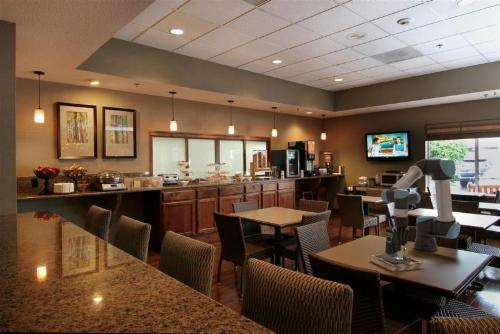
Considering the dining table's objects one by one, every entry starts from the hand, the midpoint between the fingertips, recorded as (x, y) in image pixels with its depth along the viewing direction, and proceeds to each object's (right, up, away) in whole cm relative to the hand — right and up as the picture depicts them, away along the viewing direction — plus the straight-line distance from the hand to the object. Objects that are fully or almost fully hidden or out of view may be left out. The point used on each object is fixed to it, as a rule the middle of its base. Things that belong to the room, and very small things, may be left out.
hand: (400, 256), depth 188 cm
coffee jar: (+8, -7, +27) cm, 29 cm away
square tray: (+1, -7, +7) cm, 10 cm away
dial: (+1, -5, +7) cm, 8 cm away
